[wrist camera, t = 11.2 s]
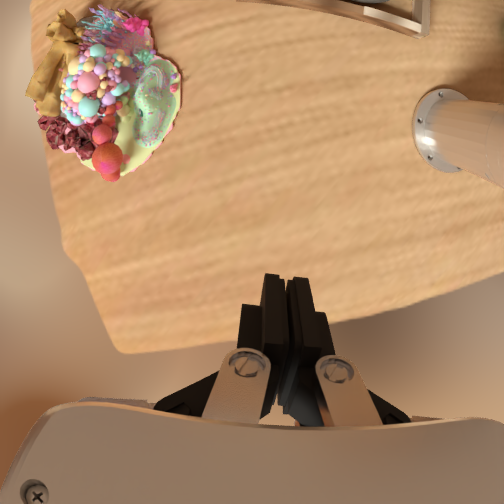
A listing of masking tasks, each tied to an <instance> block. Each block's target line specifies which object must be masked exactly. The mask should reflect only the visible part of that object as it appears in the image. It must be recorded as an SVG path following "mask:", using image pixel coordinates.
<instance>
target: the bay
mask: <svg viewBox="0 0 504 504" xmlns="http://www.w3.org/2000/svg"><path fill="white" fill-rule="evenodd" d="M236 1H240V2H254V3H265V4H274V5H282V6H290V7H297V8H303V9H309V10H315V11H320V12H325V13H330V14H335V15H339V16H343V17H348V18H352V19H356V20H360V21H363V22H367V23H371V24H374V25H377V26H381V27H384V28H387V29H390V30H394V31H397V32H400V33H403V34H405V35H408V36H411V37H414V38H416V39H420V38H422V37H425V36H428V35H429V27H430V0H412V21H410V20H407V19H405V18H402V17H399V16H396V15H393V14H390V13H387V12H384V11H381V10H377V9H374V8H370V7H367V6H364V7H363V6H359V5H355V4H351V3H347V2H343V1H339V0H236Z"/></svg>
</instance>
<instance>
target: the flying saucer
mask: <svg viewBox="0 0 504 504" xmlns="http://www.w3.org/2000/svg"><path fill="white" fill-rule="evenodd" d="M352 1H356V2H361V3H381V2H385V1H388V0H352Z"/></svg>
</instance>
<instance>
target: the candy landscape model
mask: <svg viewBox="0 0 504 504" xmlns="http://www.w3.org/2000/svg"><path fill="white" fill-rule="evenodd" d="M97 6H98V7H99V8H100V9H102V10H103V11H100V10H97V11H96V10H94V8H89V9H90V11H91V12H92V13H96V14H97V15H102V17H101V16H91V17H87V18H83V19H81V20H80V21H79V22H78V23H76V20H75V18H74V17H73V15H72V14H70V13H69V12H68V11H67V10H66V9H63V10H60V11H59V13H58V14H57V21H53V22H52V24H49V25H48V27H47V33H46V36H48V38H49V39H50V40H51V41H53V45H52V48H51V49H50V51H49V52H48V54H47V55H46V57H45V59H44V60H43V61H42V63H41V64H40V66H39V67H38V69H37V70H36V72H35V73H34V75H33V76H32V78H31V80H30V83H29V85H28V88H27V90H26V95H25V96H28V97H30V98H32V99H33V100H34V101H35V104H34V109H35V110H36V111H37V112H38V114H39V115H43V116H42V117H41V118H40V119H39V120H38V124H39V126H40V128H41V129H43V130H46V129H47V128H48V126H50V128H49V130H48V131H47V133H46V138H47V141H48V143H49V145H50V146H51V148H52V149H59V148H60V149H61V150H62V151H63V152H64V153H70V152H76V153H77V156H78V158H80V160H81V163H82V164H83V165H86V166H88V167H89V168H90V169H91V170H93V171H95V170H96V171H97V172H99V173H101V176H102V178H103V179H105V180H106V181H111V182H115V181H117V180H118V179H119V177H120V176H124V175H125V174H127V173H128V172H133V171H135V170H136V169H137V168H138V167H139V166H140V165H141V164H144V163H145V162H146V161H147V160H148V159H149V158H150V156H152V154H153V151H154V150H155V149H157V148H158V147H159V146H160V145H161V144H162V142H163V139H164V137H165V136H166V135H167V134H168V133H169V132H170V131H171V130H172V129H173V121H174V119H175V118H176V116H177V113H178V111H179V110H180V107H181V74H180V73H178V70H177V67H176V66H175V65H174V64H173V63H171V62H170V61H169V60H164V59H163V58H161V57H160V56H159V57H158V56H156V55H155V54H156V51H155V50H154V49H153V38H152V37H151V35H150V34H151V30H150V29H149V28H148V25H149V21H148V20H145V19H144V20H141V19H139V17H137V16H136V15H135V14H134V15H135V16H136V17H134V18H133V17H132V15H130V14H129V13H128V12H127V11H125V10H122V11H121V10H120V9H119V8H117V9H118V10H119V11H121V12H123V13H125V14H127V15H128V16H129V17H130V18H127V17H126V16H124V15H123V14H122V13H121V12H117V11H116V12H115V11H114V10H112V9H110V10H109V9H107V8H105V7H104V6H103V5H101V4H99V5H97ZM114 12H115V13H116V14H114Z"/></svg>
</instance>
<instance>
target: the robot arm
mask: <svg viewBox="0 0 504 504" xmlns="http://www.w3.org/2000/svg"><path fill="white" fill-rule="evenodd" d="M438 93H439V95H438ZM418 119H419V121H418ZM412 132H413V138H414V142H415V145H416V148H417V150H418V152H419V154H420V155H421V156H422V158H423V159H424V160H425V161H426V162H427V163H428V164H429V165H430V166H432V167H433V168H435V169H437V170H439V171H442V172H446V173H454V172H459V171H461V170H465V171H468V172H470V173H472V174H474V175H477V176H479V177H481V178H483V179H485V180H487V181H489V182H491V183H494V184H496V185H498V186H500V187H502V188H504V104H502V103H493V102H484V101H472V100H469V99H468V98H467V97H466V96H464V95H463V94H462V93H460V92H458V91H456V90H452V89H444V88H443V89H436V90H433V91H431V92H429V93H427V94H426V95H425V96H424V97H423V98H422V99H421V100H420V102H419V103H418V105H417V107H416V109H415V112H414V116H413V121H412ZM428 155H429V157H428ZM276 395H277V396H278V405H281V406H283V414H289V415H290V416H292V417H293V418H294V419H295V422H294V425H295V426H279V425H263V424H258V422H259V420H260V419H261V418H263V417H264V416H266V415H267V414H268V413H270V410H271V406H272V405H274V402H275V399H276ZM0 504H504V424H503V423H501V422H498V421H495V420H492V419H487V418H478V417H477V418H476V417H460V418H452V419H440V418H430V417H420V416H412V418H409V417H408V416H407V415H406V414H405V413H404V412H402V411H400V410H399V409H397V408H396V407H394V406H393V405H391V404H390V403H388V402H386V401H385V400H383V399H382V398H380V397H379V396H377V395H376V394H374V393H373V392H371V391H370V390H368V389H367V388H366V386H365V384H364V382H363V379H362V378H361V375H360V373H359V371H358V369H357V368H356V366H355V364H354V363H353V362H351V361H350V360H348V359H346V358H345V357H342V356H337V355H335V350H334V346H333V342H332V338H331V333H330V329H329V325H328V321H327V317H326V314H325V313H324V312H315V308H314V303H313V298H312V293H311V289H310V284H309V280H308V278H302V277H293V280H288V282H287V286H286V292H285V281H284V279H280V278H279V275H276V274H267V273H265V276H264V283H263V289H262V295H261V302H260V306H257V305H248V304H242V309H241V317H240V326H239V334H238V343H237V349H235V350H232V351H231V352H229V353H228V354H227V355H226V356H225V358H224V360H223V363H222V365H221V368H220V370H219V371H217V372H216V373H214V374H211V375H210V376H208V377H206V378H204V379H202V380H200V381H198V382H196V383H194V384H192V385H189V386H187V387H185V388H183V389H181V390H179V391H177V392H175V393H173V394H171V395H169V396H167V397H164V398H163V399H161V400H160V401H158V402H157V403H148V402H147V400H134V399H133V400H132V399H113V398H98V397H87V398H83V399H81V400H79V401H78V402H72V403H66V404H61V405H58V406H56V407H53V408H51V409H50V410H48V411H46V412H45V413H44V414H43V415H42V416H41V417H40V418H39V419H38V420H37V422H36V423H35V424H34V426H33V427H32V429H31V430H30V431H29V433H28V434H27V436H26V438H25V440H24V441H23V443H22V445H21V447H20V448H19V451H18V452H17V454H16V456H15V458H14V461H13V462H12V464H11V466H10V469H9V471H8V474H7V476H6V478H5V481H4V483H3V486H2V488H1V491H0Z"/></svg>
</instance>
